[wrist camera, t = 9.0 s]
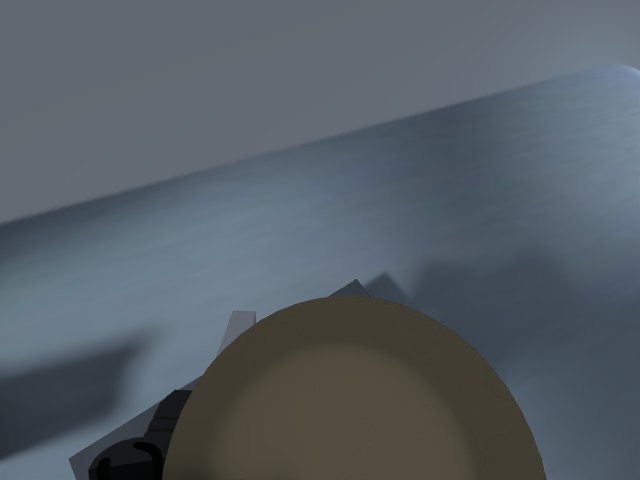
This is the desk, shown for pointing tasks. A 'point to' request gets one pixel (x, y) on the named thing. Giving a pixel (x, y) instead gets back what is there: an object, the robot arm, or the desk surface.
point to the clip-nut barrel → (351, 403)
